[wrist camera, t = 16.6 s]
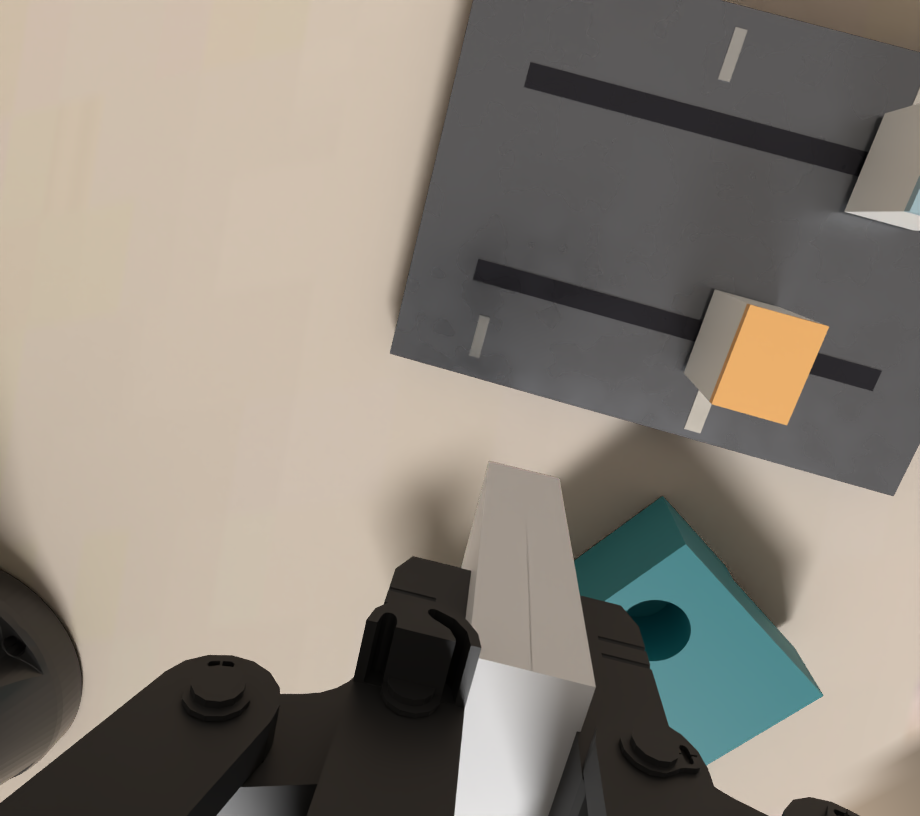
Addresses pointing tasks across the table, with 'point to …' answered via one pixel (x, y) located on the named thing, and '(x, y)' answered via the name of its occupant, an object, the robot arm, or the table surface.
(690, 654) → the teal l-shaped bracket
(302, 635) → the table surface
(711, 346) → the fader
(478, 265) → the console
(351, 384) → the table surface
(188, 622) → the table surface
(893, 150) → the block
